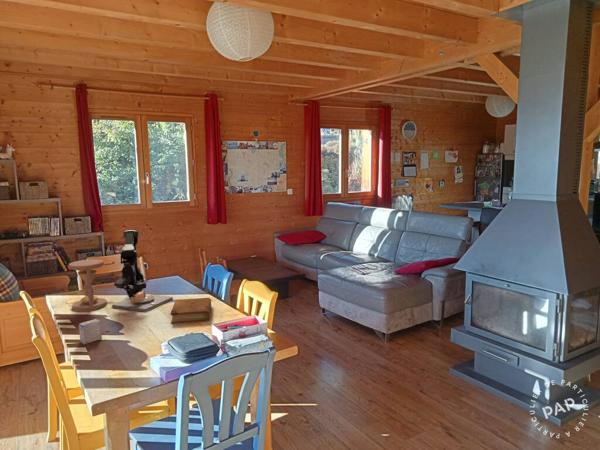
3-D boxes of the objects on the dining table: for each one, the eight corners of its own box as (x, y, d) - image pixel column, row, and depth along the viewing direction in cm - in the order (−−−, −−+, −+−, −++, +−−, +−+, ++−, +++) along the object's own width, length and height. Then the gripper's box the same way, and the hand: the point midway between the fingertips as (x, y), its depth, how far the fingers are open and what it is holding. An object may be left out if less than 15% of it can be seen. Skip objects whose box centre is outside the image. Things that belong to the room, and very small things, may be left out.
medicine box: (97, 336, 201) (96, 318, 199) (102, 339, 198) (100, 320, 197) (79, 342, 195) (78, 323, 193) (84, 344, 192) (83, 325, 191)
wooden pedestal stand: (106, 308, 240) (102, 264, 236) (70, 313, 234) (66, 267, 230) (107, 299, 256) (104, 258, 253) (74, 303, 250) (70, 260, 246)
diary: (209, 321, 219) (209, 310, 218) (171, 324, 216) (170, 313, 215) (211, 307, 241) (210, 297, 240) (176, 309, 238) (175, 299, 237)
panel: (112, 307, 242) (111, 303, 242) (141, 295, 263) (140, 292, 263) (145, 311, 234) (145, 308, 234) (172, 299, 255) (172, 295, 255)
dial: (138, 296, 255) (137, 288, 254) (157, 297, 254) (157, 288, 253) (122, 306, 238) (122, 296, 238) (143, 306, 237) (143, 297, 236)
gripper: (105, 273, 235) (106, 301, 238) (130, 277, 227) (131, 306, 229) (122, 268, 245) (123, 295, 247) (146, 272, 237) (147, 300, 239)
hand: (130, 299), depth 241 cm, fingers closed
